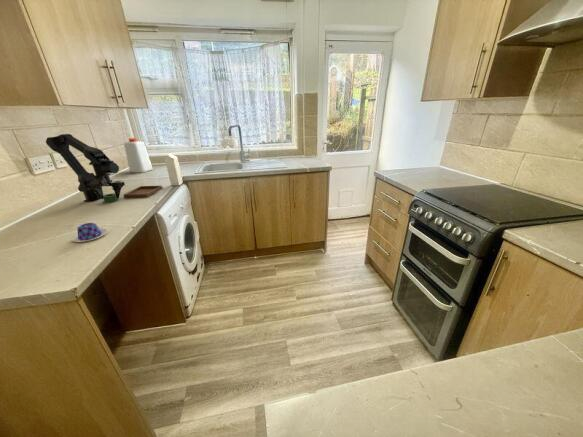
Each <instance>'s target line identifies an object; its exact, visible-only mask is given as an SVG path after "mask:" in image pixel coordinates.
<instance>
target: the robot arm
mask: <svg viewBox="0 0 583 437" xmlns="http://www.w3.org/2000/svg"><path fill="white" fill-rule="evenodd" d="M45 144H46V145H47V147H49V148H50V149H51V151H53V152H55V153H57V154H59V155H60V156H61V157H62V158H63V159H64V160H63V161H65V163H67V165H68V166H69V167H70V168H71V169H72V170H73V172H74V174H76V176H77V182H78V184H79V185H78V187H77V189H78V192H81V193H83V195H84V198H85V199H84V202H95V201H98V200H100V199H101V200H104V199H103V196H104V191H103V187H111V189H112V190H113V192H114V193H115V194H116V197H117V199H118V200H119V198H120V195H121V190H122V188H123V187H124V186H126V183H125V182H124V181H123V180H115V181H113V180H112V179H111V178H110V176H111V174H117V173H119V171H120V166H119V165H118V164H117V163H116V162H114V160H111V159H110V158H109V157H108V156H107V155H106V154H105V152H104V151H103V150H101V149H100V148H98V147H95V146H90V145H88V144H86V143H85V142H83V141H81V140H79V138H76V137H75V136H73V135H72V134H71V133H62V134H59V135H56V136H50V137H46V140H45ZM70 147H72V148H74V149H75V150H77V151H78V152H80V153H82V154H83V156H84V158H86V159H87V160H88V161H89V163H88V165H89V166H92V167H93V172H88V171H87V170H86V168H85V167H84V166H83V165H82V164H81V162H80V161H79V159H78V158H77V157H76V156H75V155H74V154H73V152H72V151H71V150H70Z"/></svg>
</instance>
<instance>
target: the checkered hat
mask: <svg viewBox="0 0 583 437" xmlns="http://www.w3.org/2000/svg"><path fill="white" fill-rule="evenodd" d="M76 230H77V234H75V235H74V236H73V237H72V238H71V241H72V242H75V243H84V242H90V241H93V240H96V239H98V238H101V237H103V236H104V235H106V234H107V233H108V229H107V228H99V226H98V225H97V224H96V223H94V222H86V223H83V224H80V225H79V226H77V229H76Z"/></svg>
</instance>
